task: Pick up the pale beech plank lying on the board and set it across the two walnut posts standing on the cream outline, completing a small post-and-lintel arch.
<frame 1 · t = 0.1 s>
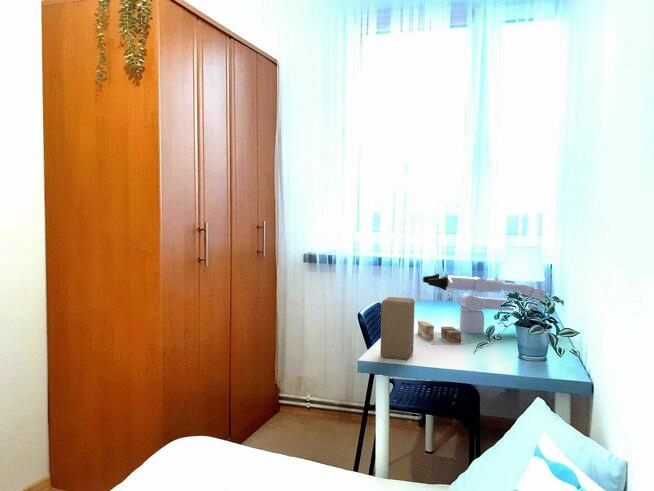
hand: (425, 280, 236), 22 cm above the table, tool horizontal, fingers open, 7 cm apart
post a: (448, 337, 226), resting on board
plank: (425, 335, 229), resting on board
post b: (453, 341, 220), resting on board
wooden block: (396, 356, 199), on the table
board: (443, 338, 226), on the table
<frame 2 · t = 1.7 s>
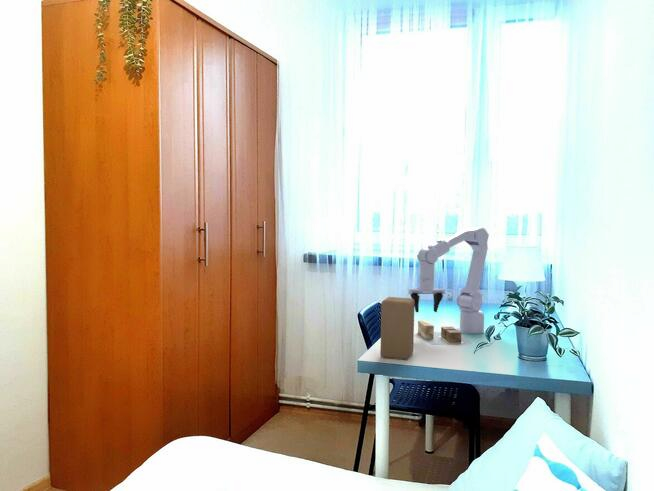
hand: (426, 311, 229), 10 cm above the table, tool pointing down, fingers open, 7 cm apart
nothing on the table moved.
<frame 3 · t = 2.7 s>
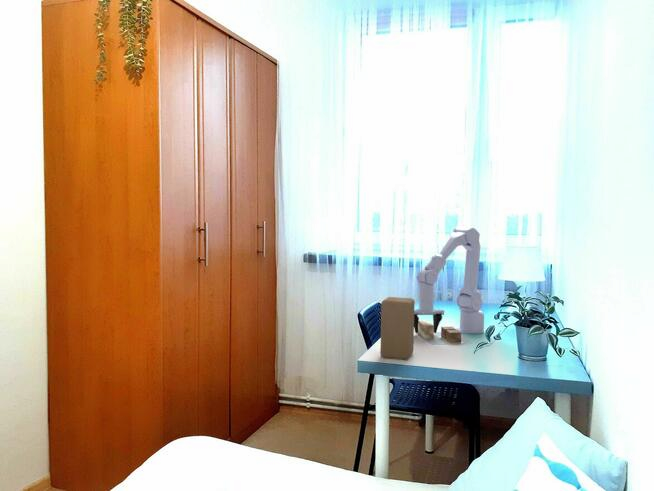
hand: (425, 332, 229), 2 cm above the table, tool pointing down, fingers open, 7 cm apart
nothing on the table moved.
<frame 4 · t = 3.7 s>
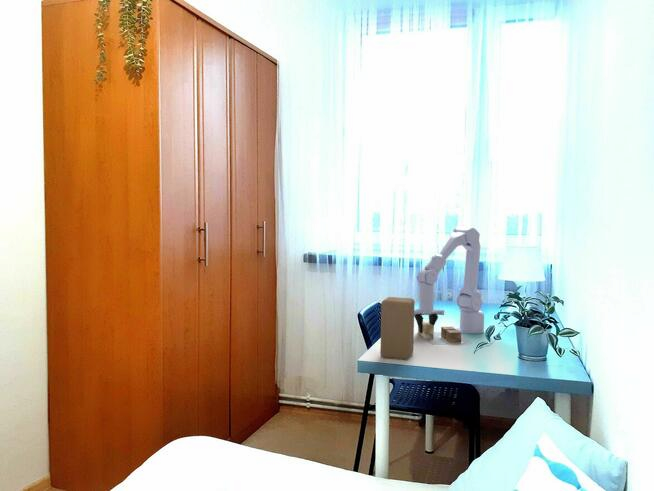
hand: (425, 332, 229), 2 cm above the table, tool pointing down, fingers closed on plank, 3 cm apart
plank: (425, 335, 229), resting on board, touching gripper
everything else where it was.
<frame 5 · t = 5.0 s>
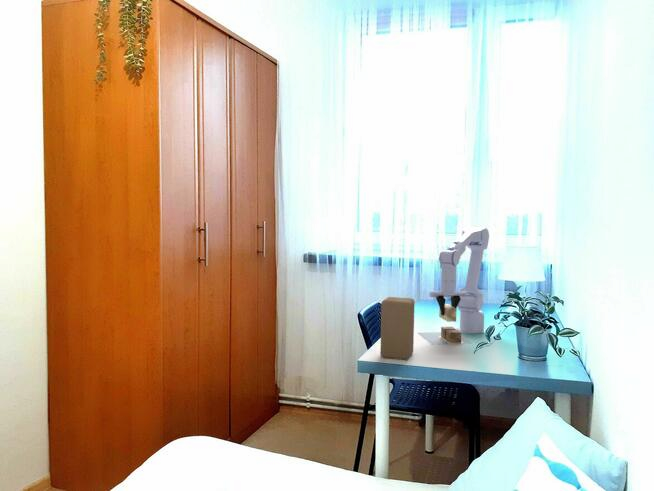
hand: (447, 315, 223), 10 cm above the table, tool pointing down, fingers closed on plank, 3 cm apart
plank: (447, 318, 223), point 8 cm above the table, touching gripper
everything else where it was.
when the fingers open (6 cm above the table, at t = 6.6 s): plank stays where it is, resting on post a, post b.
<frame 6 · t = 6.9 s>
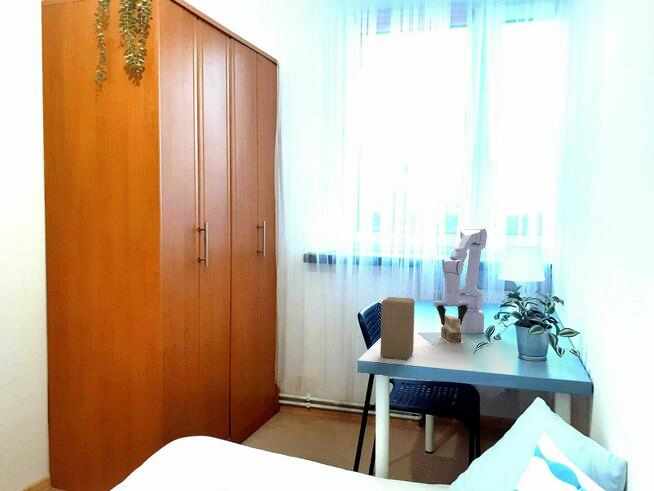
hand: (451, 324, 223), 6 cm above the table, tool pointing down, fingers open, 6 cm apart
post a: (448, 337, 226), resting on board, touching plank
plank: (451, 329, 223), point 4 cm above the table, touching post a, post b
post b: (453, 341, 220), resting on board, touching plank
everything else where it was.
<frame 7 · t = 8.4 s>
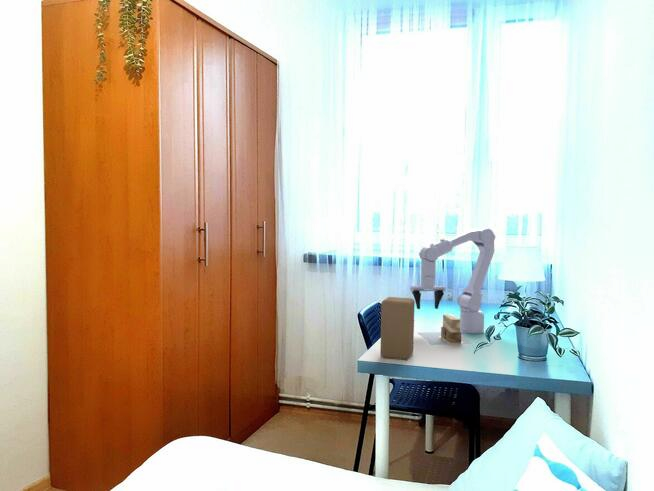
hand: (427, 308, 233), 10 cm above the table, tool pointing down, fingers open, 7 cm apart
nothing on the table moved.
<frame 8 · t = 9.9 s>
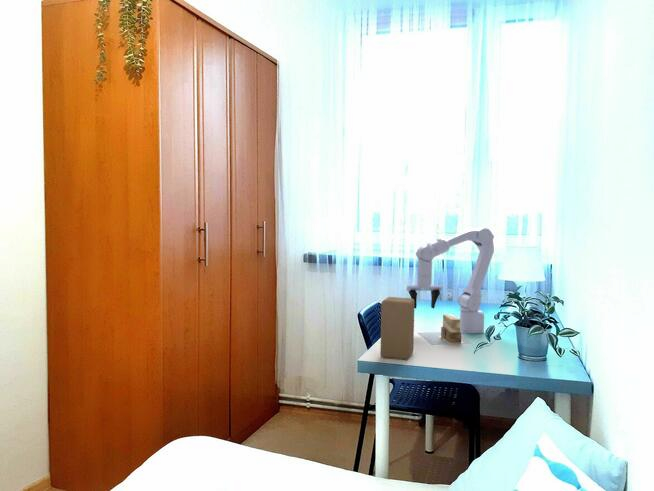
hand: (423, 307, 235), 10 cm above the table, tool pointing down, fingers open, 7 cm apart
nothing on the table moved.
at the end: plank 0.0 cm from the target spot, point 4.3 cm above the table; plank tilted 0°; plank touching post a, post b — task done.
